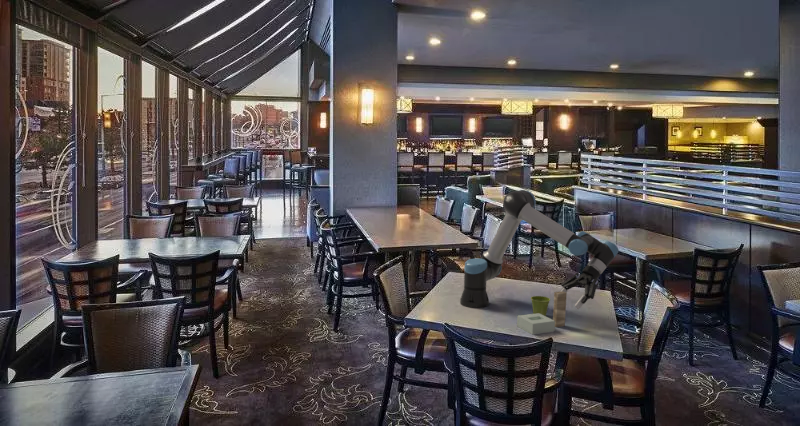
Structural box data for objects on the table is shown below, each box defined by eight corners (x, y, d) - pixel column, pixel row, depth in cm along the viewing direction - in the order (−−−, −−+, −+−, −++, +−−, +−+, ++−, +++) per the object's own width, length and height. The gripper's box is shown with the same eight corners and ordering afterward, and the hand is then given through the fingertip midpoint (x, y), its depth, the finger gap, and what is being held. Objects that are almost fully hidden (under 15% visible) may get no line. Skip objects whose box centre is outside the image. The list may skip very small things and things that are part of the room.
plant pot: (546, 319, 259) (547, 302, 258) (527, 316, 264) (528, 299, 263) (551, 314, 267) (552, 297, 266) (533, 311, 272) (534, 294, 271)
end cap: (516, 326, 249) (517, 315, 248) (538, 323, 253) (538, 313, 253) (532, 334, 238) (532, 323, 237) (554, 331, 242) (555, 320, 242)
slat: (552, 325, 251) (554, 292, 249) (561, 324, 252) (563, 291, 250) (555, 327, 248) (557, 293, 246) (564, 326, 250) (566, 292, 248)
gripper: (617, 280, 243) (589, 316, 239) (580, 269, 266) (553, 301, 262) (609, 270, 240) (580, 306, 237) (571, 259, 263) (545, 291, 259)
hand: (566, 303), depth 249 cm, fingers open, 13 cm apart
